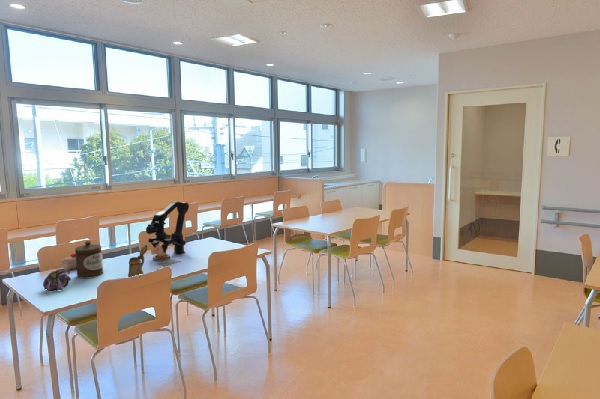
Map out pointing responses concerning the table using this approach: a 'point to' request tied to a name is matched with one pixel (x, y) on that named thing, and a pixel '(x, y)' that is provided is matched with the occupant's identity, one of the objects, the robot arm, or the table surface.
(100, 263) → the wooden container
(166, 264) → the mat
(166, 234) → the robot arm
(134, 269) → the wooden mug
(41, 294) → the table surface
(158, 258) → the collar
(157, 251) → the peach rounded piece
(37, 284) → the table surface
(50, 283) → the decorative flower
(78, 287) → the table surface
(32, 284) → the table surface
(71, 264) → the food item
